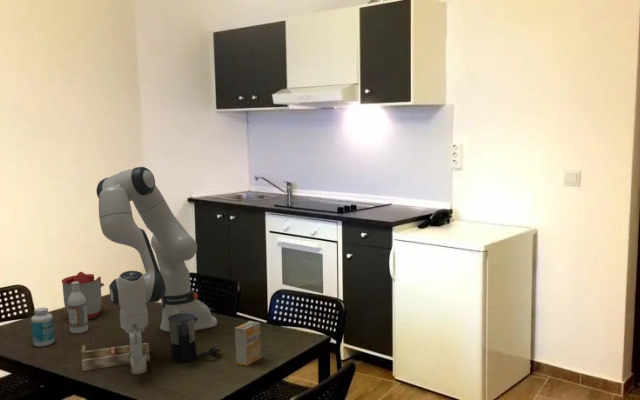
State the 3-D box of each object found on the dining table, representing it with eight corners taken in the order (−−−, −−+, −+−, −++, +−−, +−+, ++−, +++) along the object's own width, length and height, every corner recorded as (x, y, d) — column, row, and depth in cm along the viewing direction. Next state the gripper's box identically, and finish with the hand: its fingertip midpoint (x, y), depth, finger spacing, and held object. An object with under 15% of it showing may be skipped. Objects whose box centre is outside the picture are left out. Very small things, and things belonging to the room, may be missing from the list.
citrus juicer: (114, 314, 268) (110, 269, 265) (76, 325, 255) (72, 278, 252) (95, 308, 278) (92, 264, 275) (58, 318, 265) (54, 272, 262)
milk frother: (166, 356, 218) (163, 316, 216) (206, 346, 228) (204, 307, 226) (183, 369, 207) (180, 326, 205) (225, 357, 216) (223, 316, 214)
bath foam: (66, 333, 246) (61, 284, 243) (77, 327, 252) (73, 279, 250) (80, 334, 244) (76, 285, 241) (92, 328, 250) (88, 280, 248)
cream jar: (146, 367, 210) (145, 347, 209) (147, 372, 205) (146, 352, 204) (130, 369, 208) (129, 349, 207) (131, 375, 203) (129, 354, 202)
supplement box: (247, 367, 207) (245, 329, 206) (235, 364, 210) (234, 327, 208) (262, 358, 214) (260, 322, 213) (251, 356, 217) (249, 320, 215)
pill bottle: (46, 347, 230) (43, 312, 229) (29, 346, 232) (25, 311, 230) (58, 340, 238) (55, 306, 236) (41, 339, 239) (38, 305, 237)
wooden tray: (148, 352, 223) (147, 336, 222) (150, 361, 215) (149, 344, 214) (83, 361, 216) (82, 344, 216) (82, 370, 208) (81, 353, 207)
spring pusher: (114, 354, 218) (114, 346, 218) (115, 361, 212) (114, 352, 212) (111, 355, 218) (111, 347, 218) (112, 361, 212) (111, 353, 212)
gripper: (145, 329, 195) (148, 371, 197) (143, 310, 215) (145, 349, 216) (124, 332, 193) (127, 374, 195) (123, 313, 213) (126, 351, 214)
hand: (136, 361), depth 206 cm, fingers open, 8 cm apart
